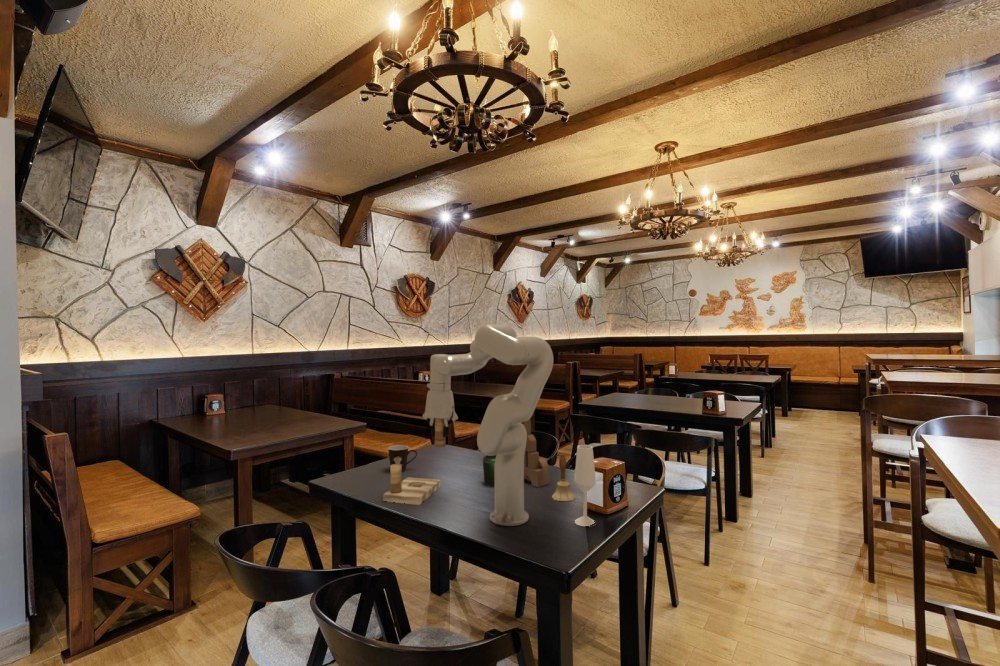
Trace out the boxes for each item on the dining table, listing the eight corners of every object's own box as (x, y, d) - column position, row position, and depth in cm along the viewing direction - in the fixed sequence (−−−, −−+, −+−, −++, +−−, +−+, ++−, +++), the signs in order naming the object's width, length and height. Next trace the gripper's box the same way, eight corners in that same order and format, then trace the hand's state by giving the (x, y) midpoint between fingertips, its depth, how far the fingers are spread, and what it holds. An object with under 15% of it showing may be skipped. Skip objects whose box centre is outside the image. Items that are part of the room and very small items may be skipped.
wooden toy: (549, 484, 183) (549, 421, 183) (537, 487, 179) (537, 423, 179) (523, 474, 195) (523, 415, 195) (511, 478, 191) (511, 417, 191)
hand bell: (565, 503, 162) (565, 458, 162) (547, 498, 168) (547, 454, 168) (579, 497, 168) (579, 454, 168) (560, 492, 174) (560, 450, 174)
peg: (443, 447, 170) (443, 415, 170) (432, 446, 171) (433, 414, 171) (447, 444, 174) (447, 413, 174) (437, 444, 175) (437, 412, 175)
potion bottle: (488, 479, 189) (488, 435, 189) (506, 482, 185) (506, 437, 185) (478, 485, 182) (478, 439, 182) (496, 488, 178) (496, 441, 178)
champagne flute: (570, 519, 148) (570, 445, 148) (587, 516, 151) (587, 443, 151) (582, 528, 142) (582, 450, 142) (600, 524, 145) (600, 447, 144)
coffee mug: (384, 472, 198) (384, 449, 198) (394, 467, 206) (394, 444, 206) (408, 475, 195) (408, 451, 195) (418, 469, 203) (418, 446, 203)
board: (419, 505, 161) (419, 470, 161) (383, 501, 164) (383, 467, 164) (440, 486, 180) (440, 455, 180) (407, 483, 184) (407, 453, 184)
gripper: (415, 387, 171) (415, 436, 171) (458, 389, 166) (457, 440, 167) (423, 385, 178) (423, 432, 178) (464, 387, 174) (464, 435, 174)
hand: (440, 435), depth 172 cm, fingers closed on peg, 4 cm apart
